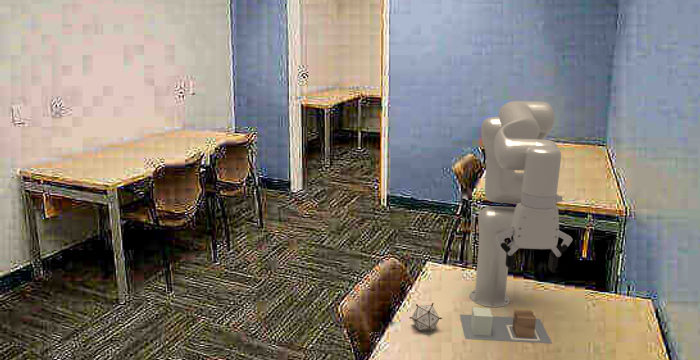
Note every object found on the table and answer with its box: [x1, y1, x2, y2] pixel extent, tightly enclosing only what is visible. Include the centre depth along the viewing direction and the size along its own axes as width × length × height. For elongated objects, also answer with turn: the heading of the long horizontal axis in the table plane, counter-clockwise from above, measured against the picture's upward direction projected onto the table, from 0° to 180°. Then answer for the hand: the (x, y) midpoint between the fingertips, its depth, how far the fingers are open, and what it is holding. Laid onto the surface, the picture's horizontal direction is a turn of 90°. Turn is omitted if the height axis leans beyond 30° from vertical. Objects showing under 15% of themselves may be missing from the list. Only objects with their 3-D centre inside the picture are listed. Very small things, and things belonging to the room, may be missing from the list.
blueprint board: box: [459, 314, 553, 345], centre depth 168 cm, size 14×24×1 cm, turn 86°
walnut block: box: [512, 309, 536, 338], centre depth 165 cm, size 5×5×6 cm
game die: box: [408, 302, 443, 332], centre depth 166 cm, size 9×8×10 cm
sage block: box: [471, 307, 494, 336], centre depth 166 cm, size 5×5×6 cm
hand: (530, 269), depth 135 cm, fingers open, 9 cm apart
